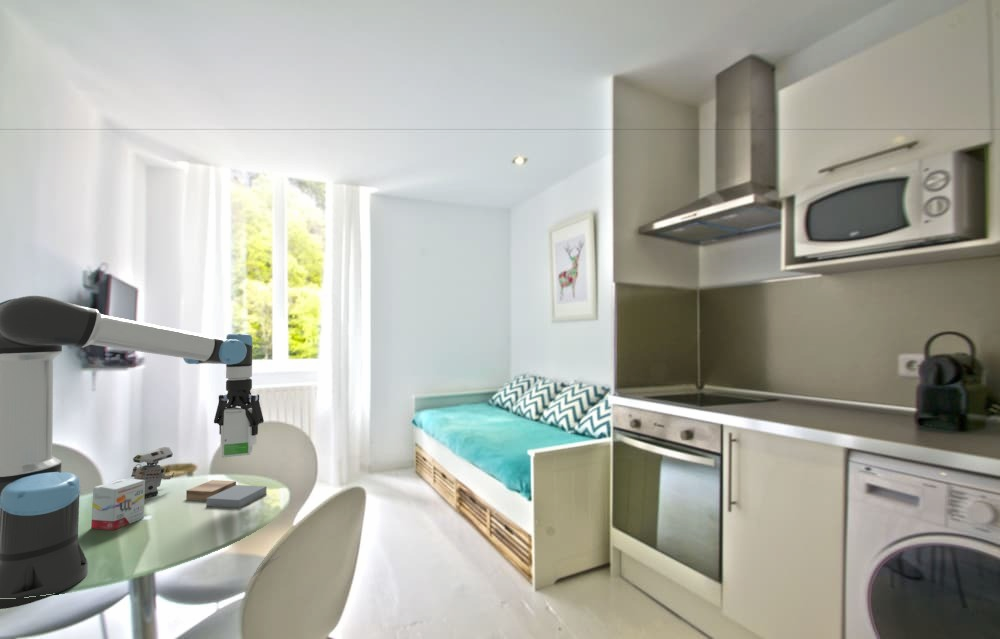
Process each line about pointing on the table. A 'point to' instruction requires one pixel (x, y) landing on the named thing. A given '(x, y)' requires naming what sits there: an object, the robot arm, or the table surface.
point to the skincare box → (235, 433)
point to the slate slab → (236, 496)
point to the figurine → (151, 469)
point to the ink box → (118, 503)
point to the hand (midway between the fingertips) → (238, 444)
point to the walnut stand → (208, 489)
